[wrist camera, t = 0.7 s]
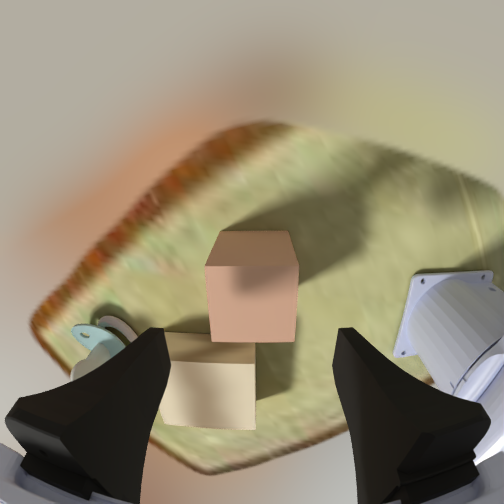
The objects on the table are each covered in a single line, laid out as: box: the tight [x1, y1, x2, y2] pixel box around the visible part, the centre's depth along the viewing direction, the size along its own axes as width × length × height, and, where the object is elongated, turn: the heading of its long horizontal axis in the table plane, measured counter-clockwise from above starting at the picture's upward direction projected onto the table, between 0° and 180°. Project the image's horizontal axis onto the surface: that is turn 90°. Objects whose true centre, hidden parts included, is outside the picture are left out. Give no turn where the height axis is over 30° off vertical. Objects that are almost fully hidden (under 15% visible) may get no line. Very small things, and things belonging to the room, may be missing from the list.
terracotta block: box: [205, 231, 299, 342], centre depth 18 cm, size 4×4×6 cm
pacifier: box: [71, 316, 138, 381], centre depth 21 cm, size 7×6×6 cm
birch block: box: [159, 332, 256, 430], centre depth 22 cm, size 8×8×4 cm
